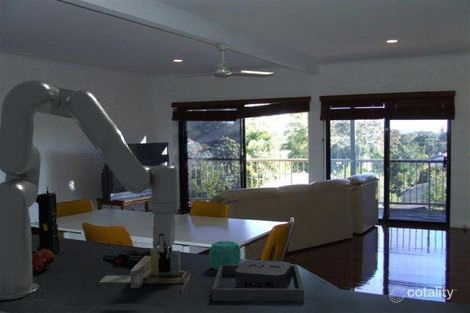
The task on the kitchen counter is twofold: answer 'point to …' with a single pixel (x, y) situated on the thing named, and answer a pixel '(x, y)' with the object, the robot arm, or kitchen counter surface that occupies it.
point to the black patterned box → (126, 257)
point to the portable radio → (48, 222)
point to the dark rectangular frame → (255, 289)
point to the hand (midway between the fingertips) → (166, 269)
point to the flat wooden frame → (147, 275)
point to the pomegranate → (42, 260)
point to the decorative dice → (224, 254)
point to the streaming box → (263, 274)
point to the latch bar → (174, 262)
